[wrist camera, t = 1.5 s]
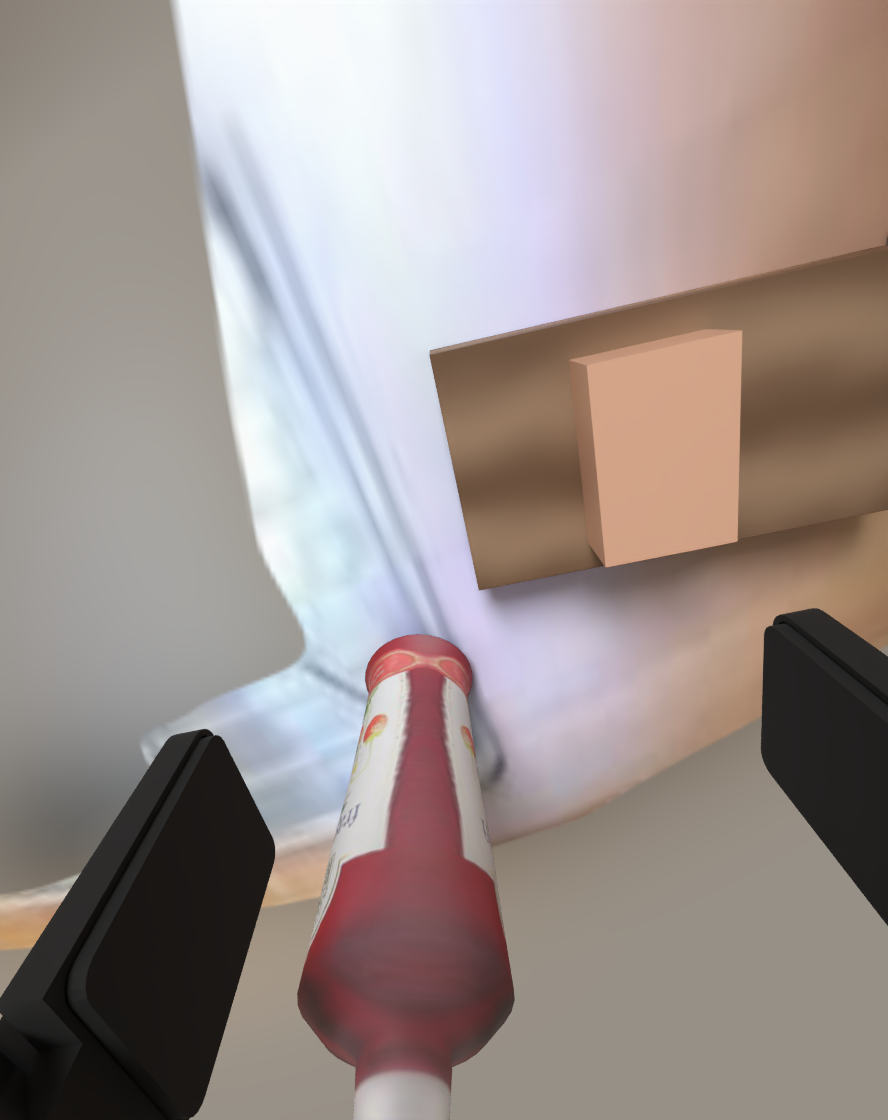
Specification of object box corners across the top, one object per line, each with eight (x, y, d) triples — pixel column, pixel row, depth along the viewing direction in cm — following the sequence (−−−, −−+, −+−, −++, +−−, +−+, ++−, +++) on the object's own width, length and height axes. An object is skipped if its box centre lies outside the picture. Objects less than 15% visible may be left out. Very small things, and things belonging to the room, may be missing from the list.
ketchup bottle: (372, 612, 33) (168, 1592, 8) (485, 630, 34) (647, 1581, 8) (357, 703, 36) (175, 1628, 11) (461, 717, 37) (527, 1617, 11)
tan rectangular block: (568, 360, 23) (586, 365, 21) (705, 329, 23) (742, 330, 20) (588, 542, 27) (605, 567, 24) (706, 518, 27) (737, 541, 24)
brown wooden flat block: (430, 350, 27) (429, 355, 23) (876, 247, 25) (951, 234, 22) (473, 559, 32) (478, 590, 28) (849, 483, 30) (906, 505, 26)
